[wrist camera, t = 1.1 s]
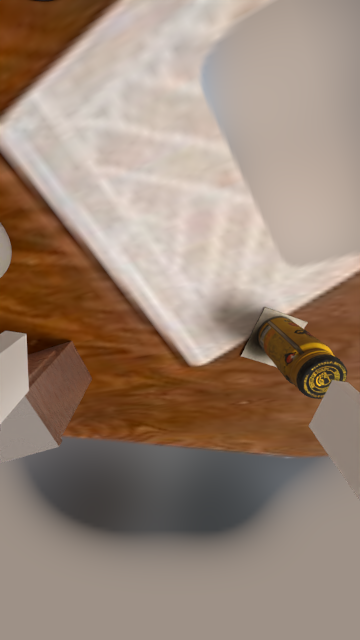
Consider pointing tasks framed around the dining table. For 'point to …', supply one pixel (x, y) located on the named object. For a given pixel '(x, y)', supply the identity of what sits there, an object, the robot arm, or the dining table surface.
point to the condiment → (294, 353)
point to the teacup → (4, 251)
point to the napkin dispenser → (45, 402)
